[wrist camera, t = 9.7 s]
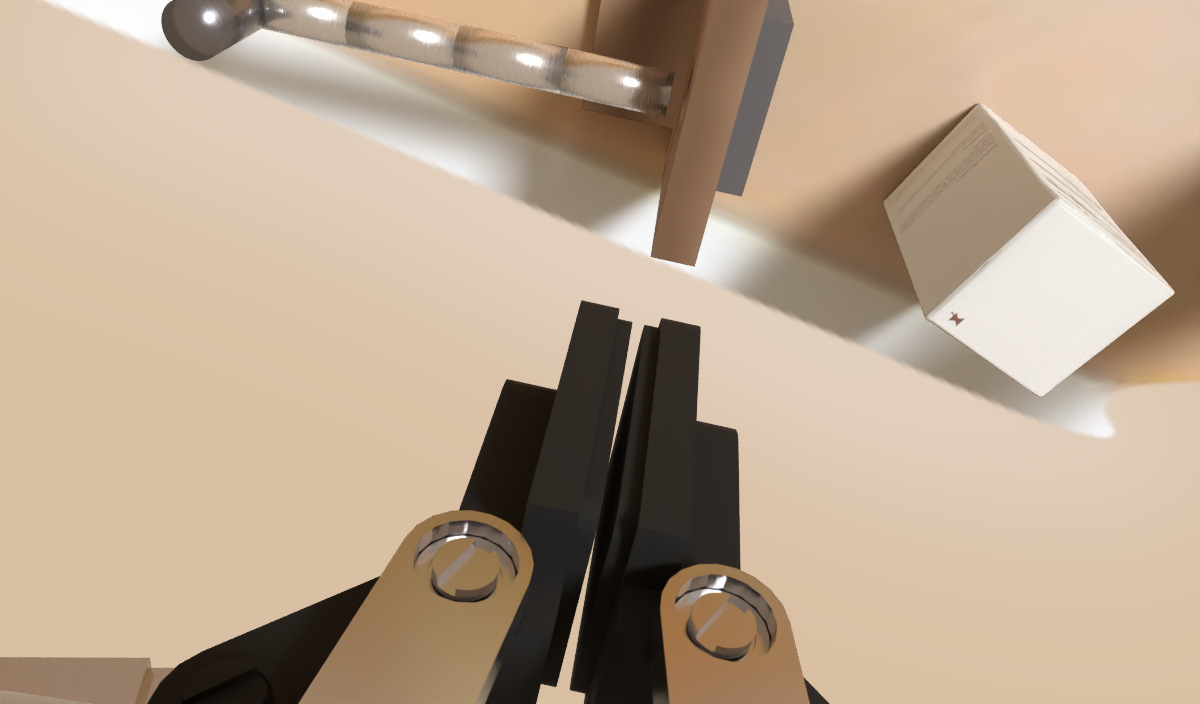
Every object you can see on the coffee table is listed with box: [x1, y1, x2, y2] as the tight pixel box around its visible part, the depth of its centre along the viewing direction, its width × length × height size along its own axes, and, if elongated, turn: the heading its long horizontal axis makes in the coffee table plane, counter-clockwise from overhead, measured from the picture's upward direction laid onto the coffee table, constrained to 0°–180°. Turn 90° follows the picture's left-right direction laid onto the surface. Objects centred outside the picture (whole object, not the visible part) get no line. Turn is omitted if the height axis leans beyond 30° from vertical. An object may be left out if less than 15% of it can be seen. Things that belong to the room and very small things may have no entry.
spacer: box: [716, 0, 794, 196], centre depth 43 cm, size 2×8×8 cm, turn 169°
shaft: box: [161, 0, 675, 117], centre depth 37 cm, size 20×2×6 cm, turn 79°
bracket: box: [582, 0, 769, 267], centre depth 41 cm, size 7×12×12 cm, turn 169°
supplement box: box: [883, 103, 1174, 397], centre depth 43 cm, size 7×7×13 cm
